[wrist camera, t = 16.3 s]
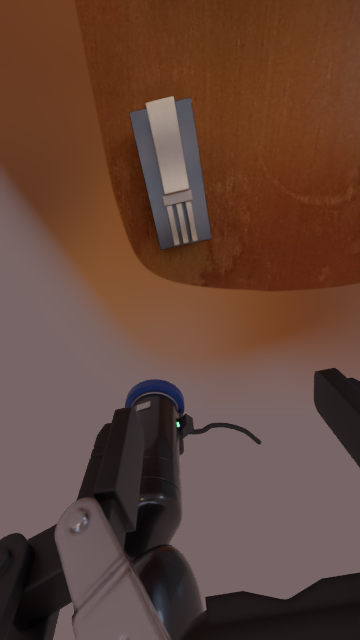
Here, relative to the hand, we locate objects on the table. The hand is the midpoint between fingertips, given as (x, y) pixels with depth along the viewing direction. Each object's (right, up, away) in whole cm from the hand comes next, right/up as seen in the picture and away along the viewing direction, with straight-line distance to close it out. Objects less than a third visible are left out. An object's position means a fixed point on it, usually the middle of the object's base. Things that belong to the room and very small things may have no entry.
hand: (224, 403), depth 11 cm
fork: (-3, +18, +15) cm, 24 cm away
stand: (-3, +21, +21) cm, 30 cm away
